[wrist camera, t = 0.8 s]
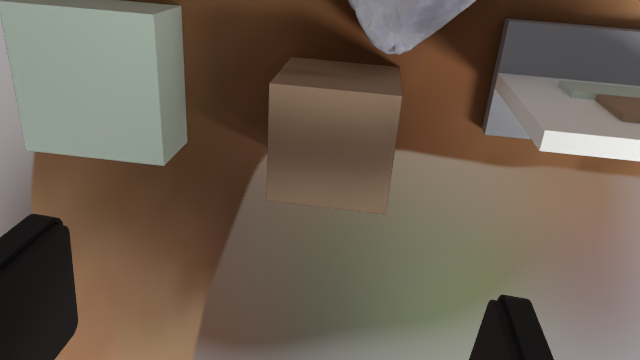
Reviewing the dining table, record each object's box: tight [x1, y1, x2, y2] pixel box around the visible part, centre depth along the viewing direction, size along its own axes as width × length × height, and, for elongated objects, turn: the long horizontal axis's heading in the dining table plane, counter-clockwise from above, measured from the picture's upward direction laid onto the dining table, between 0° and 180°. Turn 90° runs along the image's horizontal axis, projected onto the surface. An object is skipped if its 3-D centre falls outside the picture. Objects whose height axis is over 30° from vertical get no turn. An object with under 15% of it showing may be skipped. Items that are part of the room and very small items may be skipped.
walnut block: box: [266, 57, 402, 214], centre depth 27 cm, size 6×6×6 cm
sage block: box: [0, 0, 187, 166], centre depth 29 cm, size 8×8×4 cm
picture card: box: [482, 18, 640, 161], centre depth 23 cm, size 6×10×10 cm, turn 86°
